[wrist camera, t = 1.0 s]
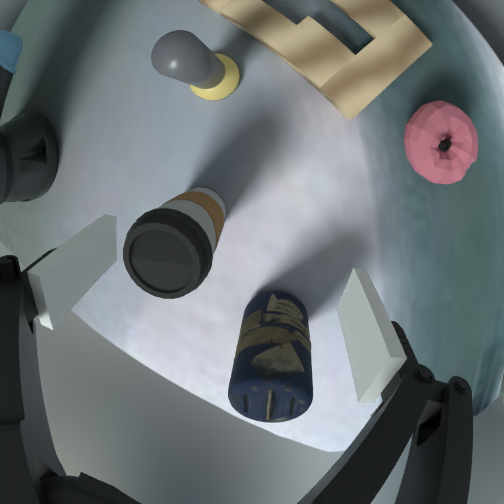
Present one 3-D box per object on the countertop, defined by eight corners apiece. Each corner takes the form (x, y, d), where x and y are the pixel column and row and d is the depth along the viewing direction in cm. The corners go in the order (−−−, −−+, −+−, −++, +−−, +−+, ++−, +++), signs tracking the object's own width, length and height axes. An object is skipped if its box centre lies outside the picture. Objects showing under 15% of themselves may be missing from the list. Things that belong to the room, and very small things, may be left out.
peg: (181, 82, 30) (126, 64, 18) (213, 46, 28) (174, 8, 15) (216, 110, 31) (177, 103, 19) (250, 74, 29) (231, 44, 17)
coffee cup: (172, 177, 36) (112, 213, 22) (235, 180, 35) (206, 219, 22) (174, 237, 39) (125, 297, 26) (233, 242, 39) (208, 309, 25)
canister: (316, 295, 41) (330, 395, 25) (295, 341, 45) (296, 437, 29) (252, 279, 41) (234, 378, 25) (238, 328, 45) (218, 423, 29)
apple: (418, 185, 33) (456, 208, 24) (374, 139, 31) (407, 147, 22) (457, 137, 29) (502, 147, 20) (417, 89, 27) (458, 83, 18)
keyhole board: (200, 2, 25) (195, -5, 23) (284, -62, 19) (284, -71, 17) (347, 119, 30) (352, 119, 28) (424, 48, 24) (433, 44, 22)
